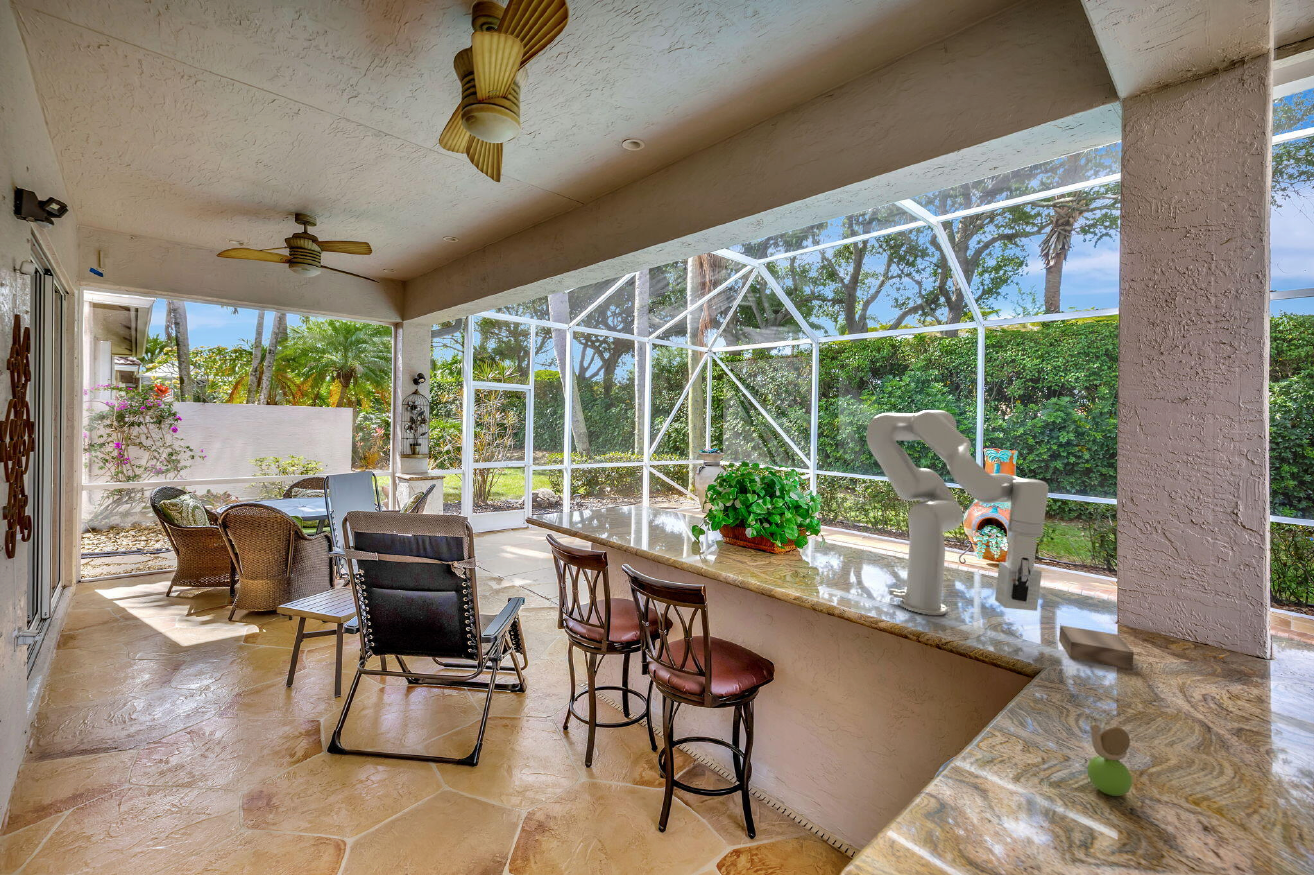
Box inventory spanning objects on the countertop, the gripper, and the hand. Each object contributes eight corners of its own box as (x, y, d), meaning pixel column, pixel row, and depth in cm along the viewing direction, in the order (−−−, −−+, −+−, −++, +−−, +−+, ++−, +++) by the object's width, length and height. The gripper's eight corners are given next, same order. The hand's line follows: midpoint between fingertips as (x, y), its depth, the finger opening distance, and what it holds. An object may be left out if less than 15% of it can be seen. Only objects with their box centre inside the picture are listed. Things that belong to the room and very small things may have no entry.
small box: (1026, 603, 154) (1031, 564, 153) (1037, 611, 148) (1042, 571, 147) (993, 600, 154) (998, 561, 154) (1004, 608, 149) (1009, 567, 148)
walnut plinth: (1070, 658, 141) (1071, 641, 140) (1058, 640, 152) (1060, 625, 151) (1132, 669, 136) (1133, 652, 136) (1116, 650, 147) (1117, 634, 146)
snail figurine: (1071, 781, 93) (1078, 707, 92) (1109, 780, 93) (1116, 707, 93) (1099, 804, 87) (1107, 726, 87) (1139, 804, 88) (1147, 726, 87)
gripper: (1003, 519, 159) (995, 583, 160) (1013, 532, 143) (1004, 603, 145) (1036, 523, 156) (1027, 588, 157) (1049, 537, 140) (1040, 609, 142)
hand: (1016, 595), depth 151 cm, fingers closed on small box, 6 cm apart
